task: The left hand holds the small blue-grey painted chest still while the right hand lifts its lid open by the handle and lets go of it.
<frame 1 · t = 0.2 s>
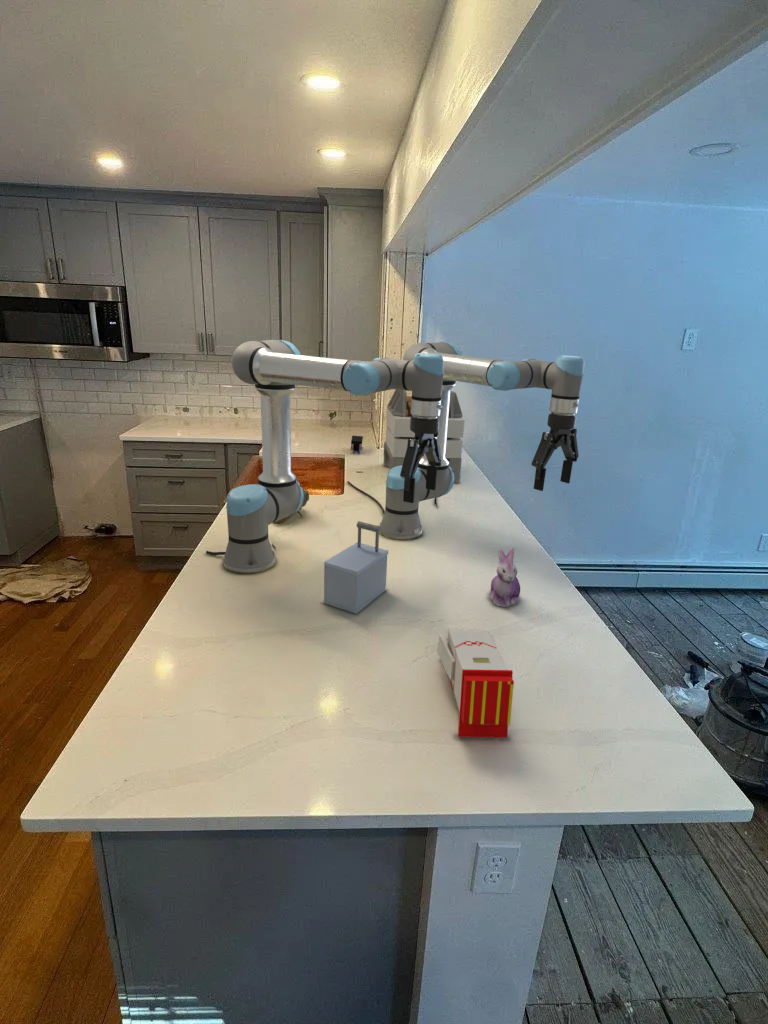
left hand: (419, 495, 152), 28 cm above the counter, tool pointing down, fingers open, 13 cm apart
right hand: (551, 485, 166), 28 cm above the counter, tool pointing down, fingers open, 13 cm apart
chest: (355, 596, 155), on the counter
lid: (357, 544, 150), point 15 cm above the counter, hinge at 0.0°
figurine: (504, 600, 157), on the counter
white slatted crate: (419, 473, 275), on the counter
toy: (469, 691, 119), on the counter
feather: (435, 497, 240), on the counter
fossil: (292, 516, 212), on the counter
figurine character: (356, 451, 311), on the counter
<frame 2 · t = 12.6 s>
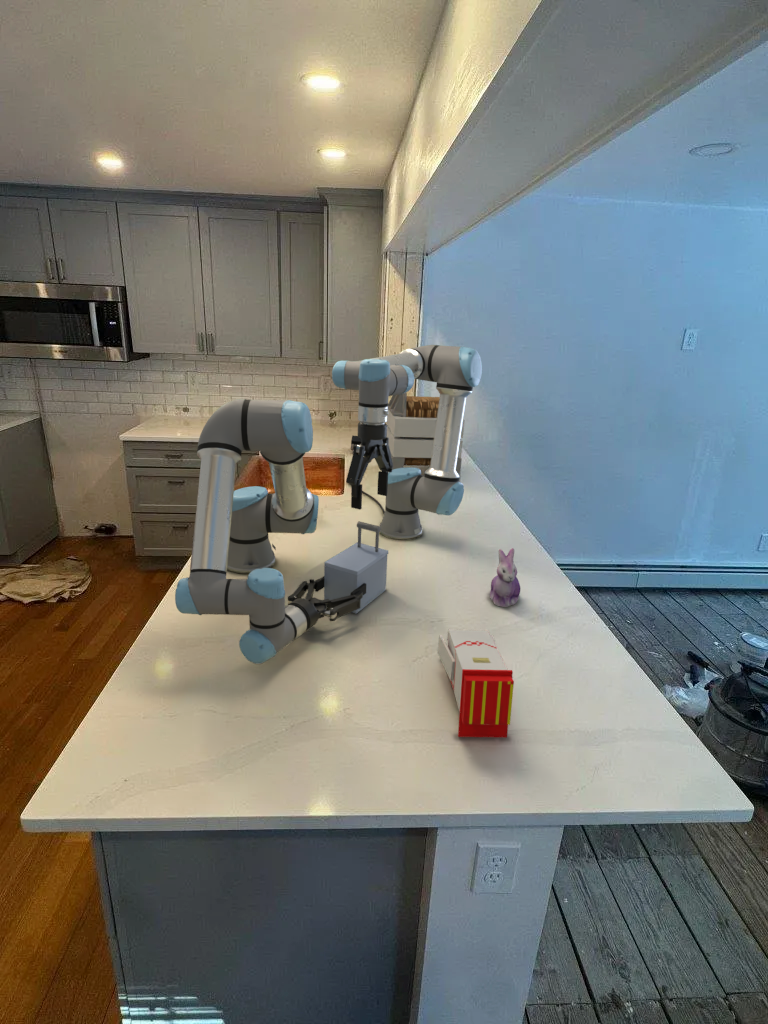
left hand: (347, 582, 150), 6 cm above the counter, tool horizontal, fingers closed on chest, 10 cm apart
right hand: (369, 501, 151), 26 cm above the counter, tool pointing down, fingers open, 13 cm apart
chest: (355, 596, 155), on the counter, touching left hand
everything else where it was.
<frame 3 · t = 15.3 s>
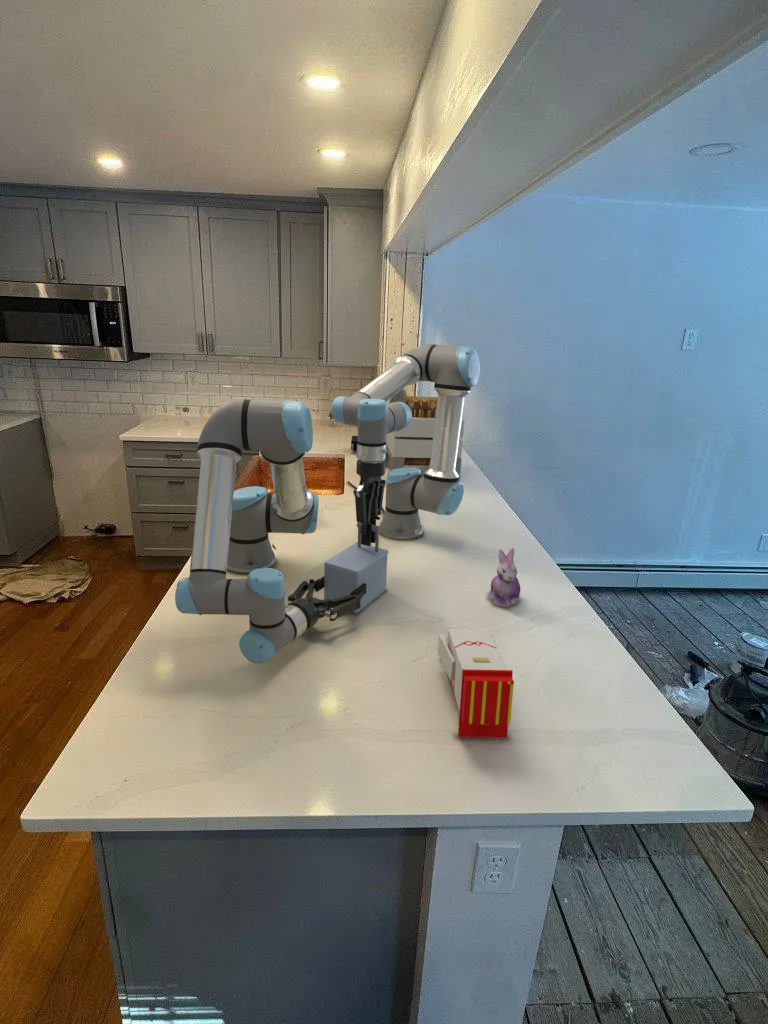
left hand: (347, 582, 150), 6 cm above the counter, tool horizontal, fingers closed on chest, 10 cm apart
right hand: (368, 543, 155), 14 cm above the counter, tool pointing down, fingers closed on lid, 2 cm apart
chest: (355, 596, 155), on the counter, touching left hand
lid: (357, 544, 150), point 15 cm above the counter, hinge at 0.2°, touching right hand
everything else where it was.
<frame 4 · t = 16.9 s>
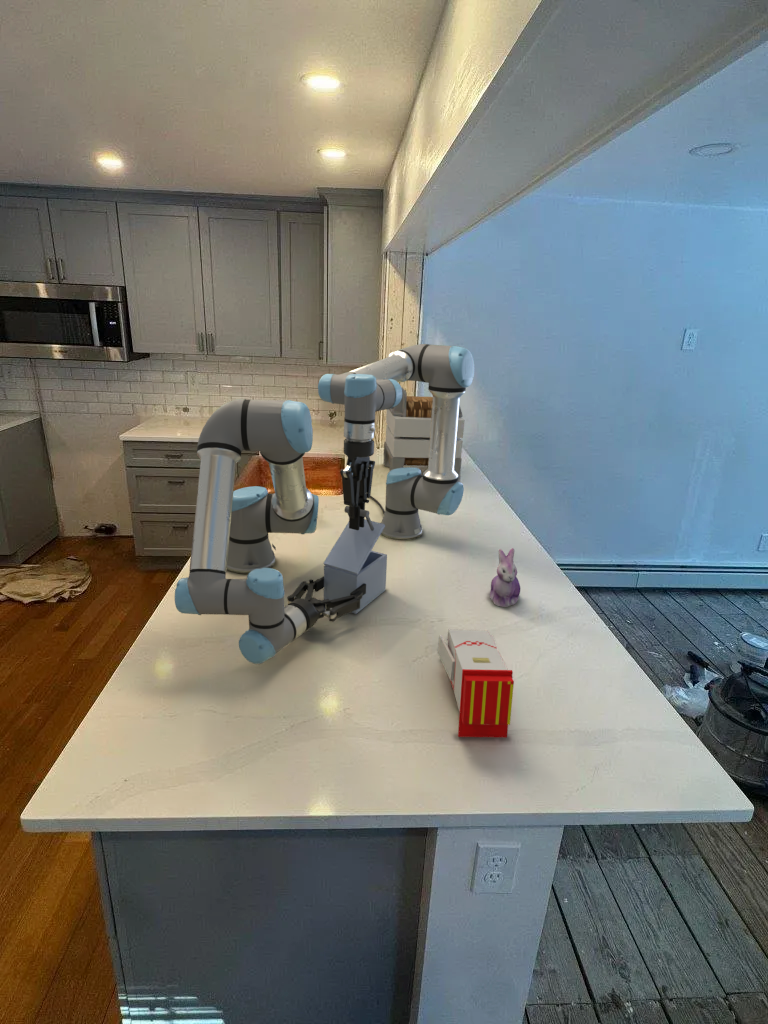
left hand: (347, 582, 150), 6 cm above the counter, tool horizontal, fingers closed on chest, 10 cm apart
right hand: (356, 527, 148), 21 cm above the counter, tool pointing down, fingers closed on lid, 2 cm apart
chest: (355, 596, 155), on the counter, touching left hand
lid: (350, 535, 146), point 19 cm above the counter, hinge at 33.2°, touching right hand
everything else where it was.
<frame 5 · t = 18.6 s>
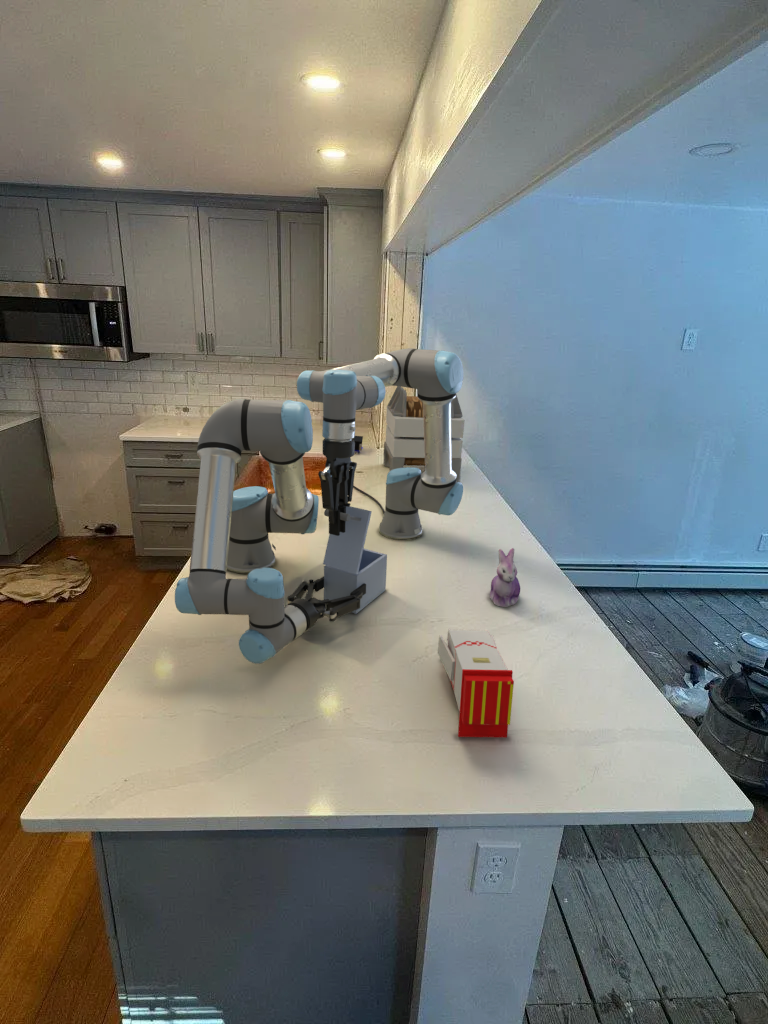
left hand: (347, 582, 150), 6 cm above the counter, tool horizontal, fingers closed on chest, 10 cm apart
right hand: (337, 532, 140), 22 cm above the counter, tool pointing down, fingers closed on lid, 2 cm apart
chest: (355, 596, 155), on the counter, touching left hand
lid: (339, 537, 141), point 20 cm above the counter, hinge at 68.8°, touching right hand
everything else where it was.
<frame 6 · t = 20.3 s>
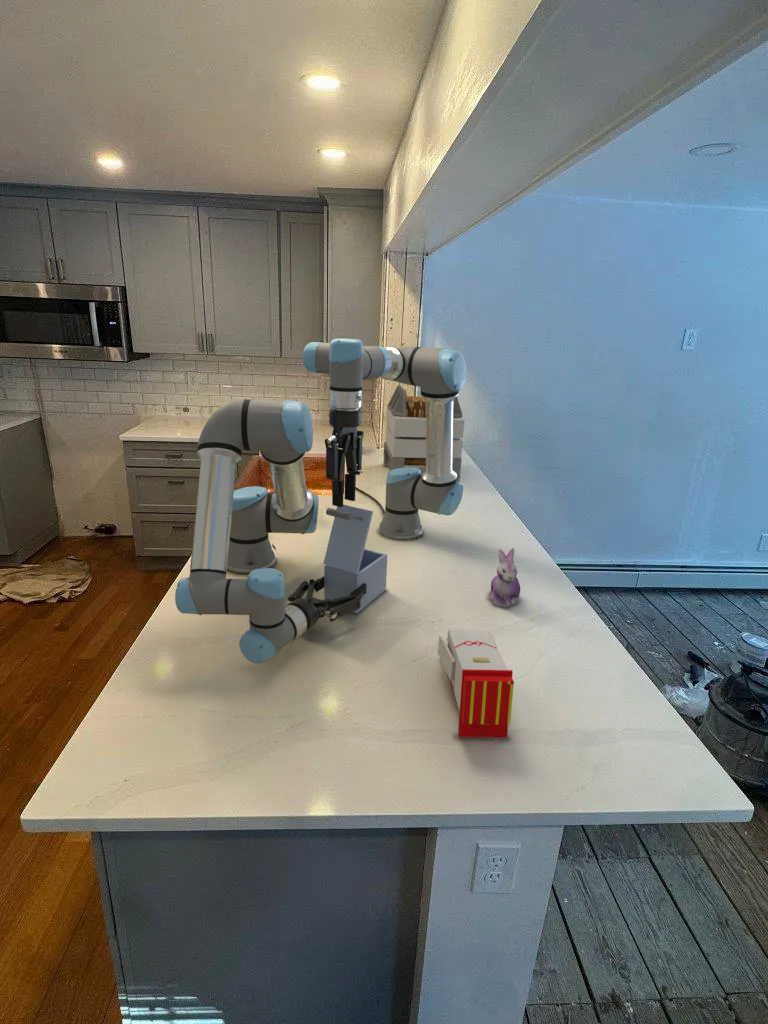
left hand: (347, 582, 150), 6 cm above the counter, tool horizontal, fingers closed on chest, 10 cm apart
right hand: (343, 502, 140), 29 cm above the counter, tool pointing down, fingers open, 5 cm apart
chest: (355, 596, 155), on the counter, touching left hand
lid: (340, 536, 142), point 20 cm above the counter, hinge at 66.4°
everything else where it was.
when the left hand's fingers open (6 cm above the counter, at t = 22.7 s): chest stays where it is, on the counter.
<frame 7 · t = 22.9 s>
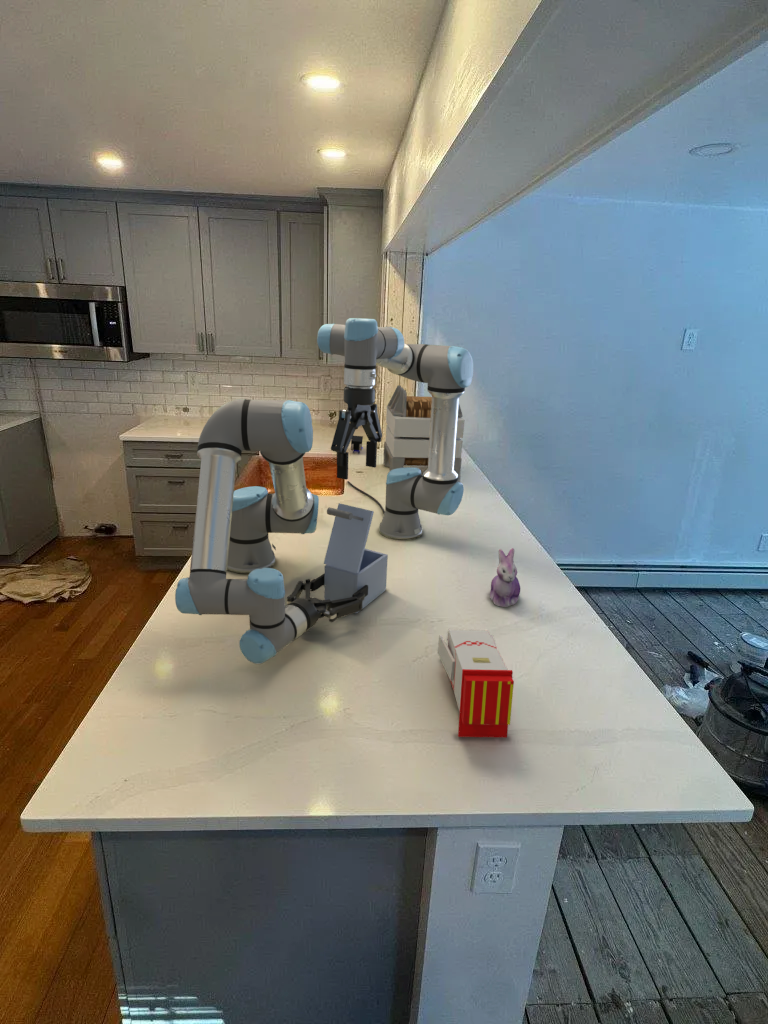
left hand: (346, 583, 149), 6 cm above the counter, tool horizontal, fingers open, 12 cm apart
right hand: (357, 472, 142), 36 cm above the counter, tool pointing down, fingers open, 13 cm apart
chest: (355, 596, 155), on the counter
lid: (341, 536, 142), point 20 cm above the counter, hinge at 65.9°
everything else where it was.
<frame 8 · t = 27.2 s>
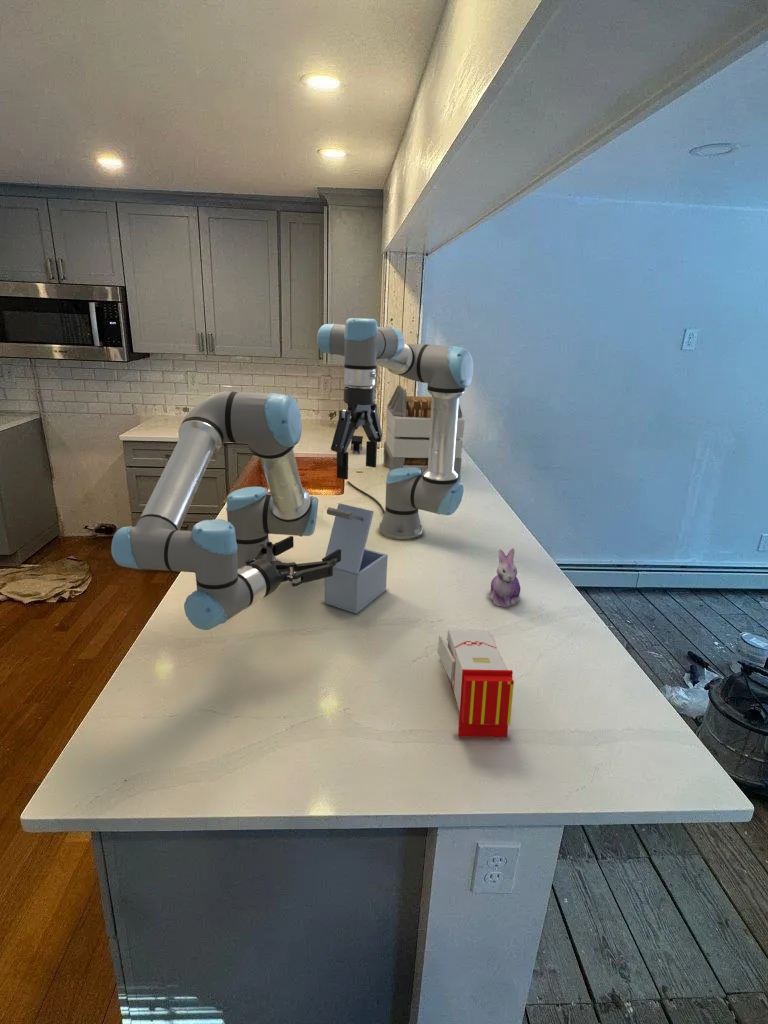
left hand: (315, 547, 133), 21 cm above the counter, tool horizontal, fingers open, 13 cm apart
right hand: (357, 472, 142), 36 cm above the counter, tool pointing down, fingers open, 13 cm apart
nothing on the counter moved.
at the end: lid at +66° (first picture: +0°); the left hand is holding nothing; the right hand is holding nothing; chest tilted 0°; chest never tilted more than 1° during the clip; chest moved 0.1 cm from its start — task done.
